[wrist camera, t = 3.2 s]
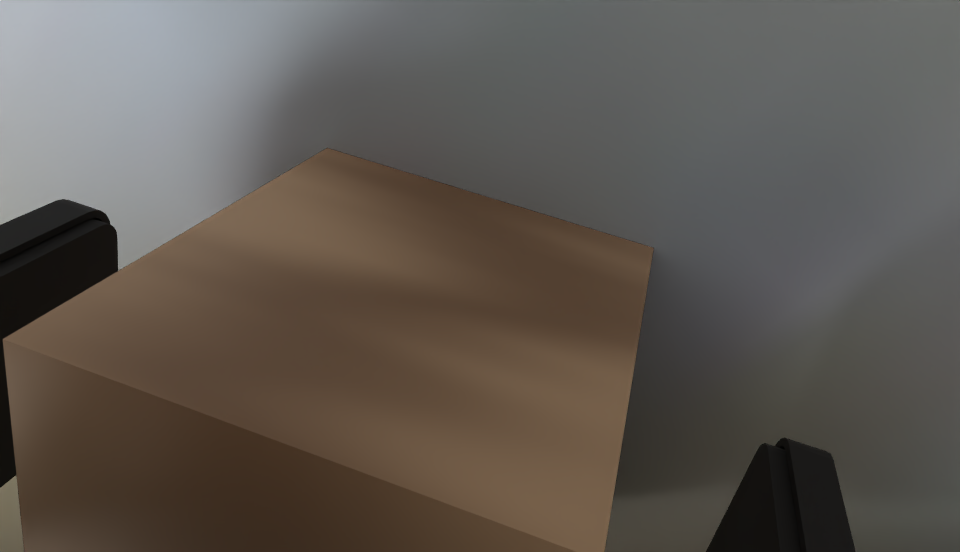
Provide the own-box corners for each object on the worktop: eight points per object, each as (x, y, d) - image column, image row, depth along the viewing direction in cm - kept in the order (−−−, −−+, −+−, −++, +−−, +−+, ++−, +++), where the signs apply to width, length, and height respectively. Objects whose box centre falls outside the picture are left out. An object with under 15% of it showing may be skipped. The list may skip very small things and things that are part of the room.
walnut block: (653, 246, 11) (603, 561, 5) (562, 503, 13) (463, 898, 8) (329, 147, 11) (2, 338, 6) (296, 407, 14) (40, 709, 8)
